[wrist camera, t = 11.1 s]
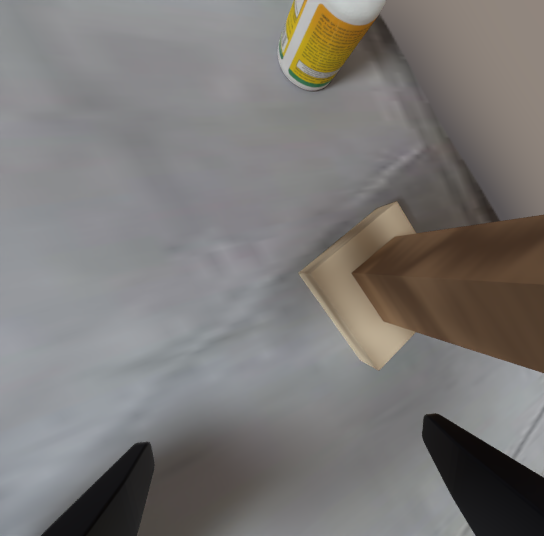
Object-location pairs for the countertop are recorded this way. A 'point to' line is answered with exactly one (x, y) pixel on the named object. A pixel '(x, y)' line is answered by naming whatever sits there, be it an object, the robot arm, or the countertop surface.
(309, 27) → the supplement bottle
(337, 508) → the countertop surface
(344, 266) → the birch block
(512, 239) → the walnut block
